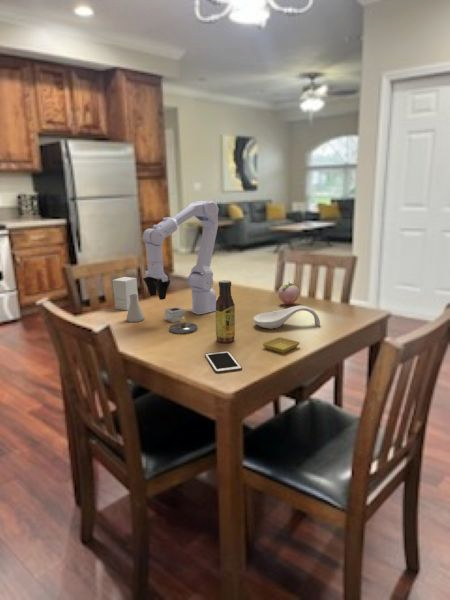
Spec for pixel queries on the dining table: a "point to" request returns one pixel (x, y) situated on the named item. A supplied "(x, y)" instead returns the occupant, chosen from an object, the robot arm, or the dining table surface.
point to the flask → (134, 310)
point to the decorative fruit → (288, 293)
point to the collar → (174, 314)
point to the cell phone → (223, 362)
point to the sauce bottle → (225, 313)
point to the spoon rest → (281, 317)
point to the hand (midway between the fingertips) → (157, 297)
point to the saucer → (284, 345)
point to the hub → (183, 327)
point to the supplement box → (124, 291)
